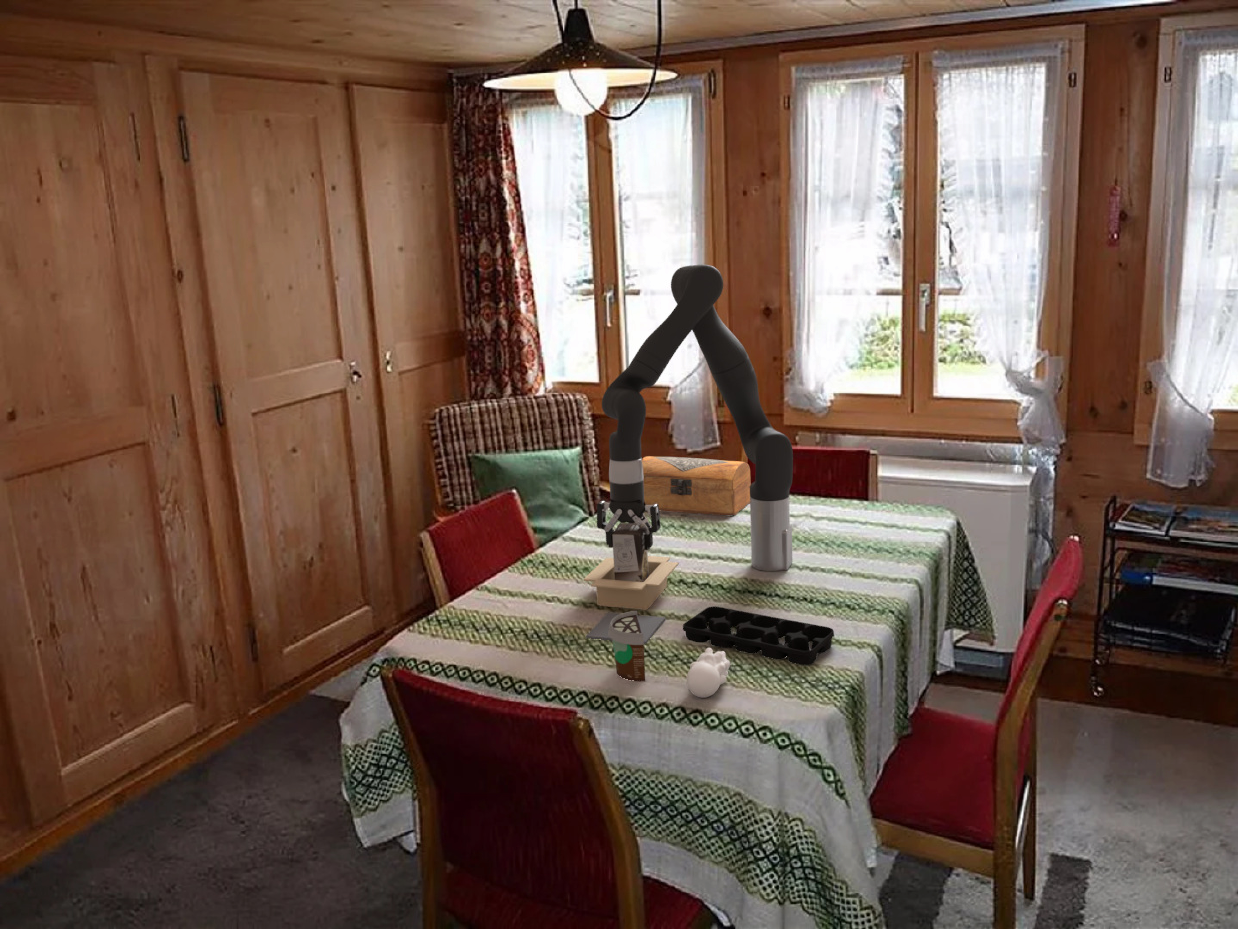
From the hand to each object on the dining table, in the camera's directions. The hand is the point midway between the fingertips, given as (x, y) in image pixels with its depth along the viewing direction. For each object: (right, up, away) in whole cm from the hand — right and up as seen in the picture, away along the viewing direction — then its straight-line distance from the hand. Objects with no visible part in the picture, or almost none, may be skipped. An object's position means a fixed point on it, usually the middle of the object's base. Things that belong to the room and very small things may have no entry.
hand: (629, 548), depth 241 cm
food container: (-1, -21, -36) cm, 42 cm away
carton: (+1, -11, +3) cm, 11 cm away
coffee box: (+1, -11, +3) cm, 12 cm away
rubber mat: (-1, -16, -16) cm, 22 cm away
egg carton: (+25, -17, -26) cm, 40 cm away
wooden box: (+19, +6, +70) cm, 72 cm away
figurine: (+14, -22, -44) cm, 52 cm away
